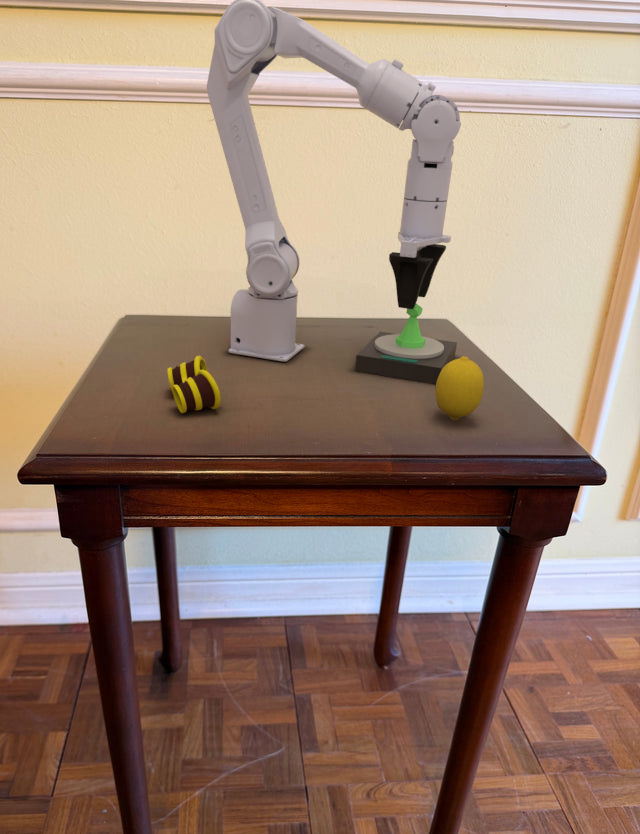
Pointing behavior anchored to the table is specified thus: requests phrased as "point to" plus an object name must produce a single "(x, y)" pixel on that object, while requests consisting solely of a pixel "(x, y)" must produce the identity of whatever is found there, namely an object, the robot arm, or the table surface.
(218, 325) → the table surface
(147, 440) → the table surface
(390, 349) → the scale
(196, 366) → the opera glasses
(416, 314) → the game piece
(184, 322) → the table surface
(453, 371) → the lemon
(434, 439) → the table surface
